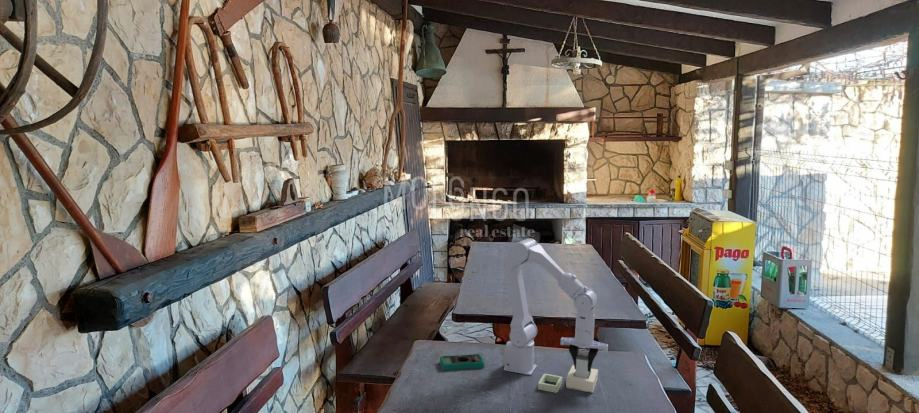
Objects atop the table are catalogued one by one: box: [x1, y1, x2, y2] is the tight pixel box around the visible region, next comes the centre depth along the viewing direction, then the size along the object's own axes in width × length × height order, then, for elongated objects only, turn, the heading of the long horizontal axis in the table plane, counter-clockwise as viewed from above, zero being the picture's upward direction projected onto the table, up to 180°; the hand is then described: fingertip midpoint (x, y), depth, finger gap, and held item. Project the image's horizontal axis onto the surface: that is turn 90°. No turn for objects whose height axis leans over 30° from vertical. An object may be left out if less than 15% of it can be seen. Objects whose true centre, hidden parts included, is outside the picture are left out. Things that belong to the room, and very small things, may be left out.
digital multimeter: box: [439, 353, 485, 372], centre depth 193 cm, size 7×15×3 cm, turn 100°
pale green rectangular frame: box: [537, 373, 564, 394], centre depth 178 cm, size 6×8×2 cm
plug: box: [576, 350, 589, 379], centre depth 179 cm, size 4×5×8 cm
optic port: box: [565, 364, 599, 394], centre depth 180 cm, size 8×10×4 cm
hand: (582, 369), depth 179 cm, fingers closed on plug, 3 cm apart
